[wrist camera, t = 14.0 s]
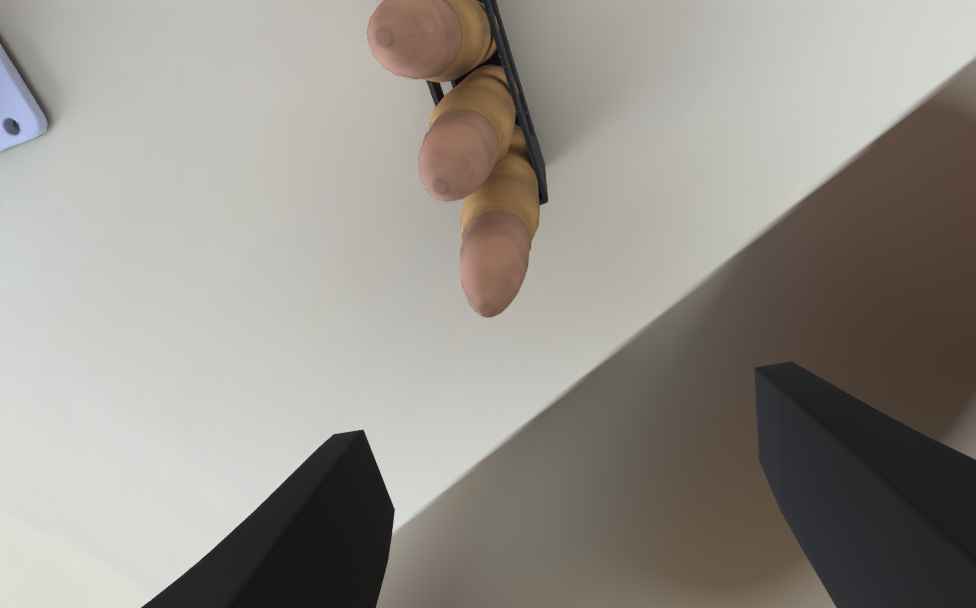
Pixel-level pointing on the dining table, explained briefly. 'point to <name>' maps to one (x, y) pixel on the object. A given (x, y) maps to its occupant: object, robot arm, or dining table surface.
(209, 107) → the dining table surface
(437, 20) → the ammunition clip
